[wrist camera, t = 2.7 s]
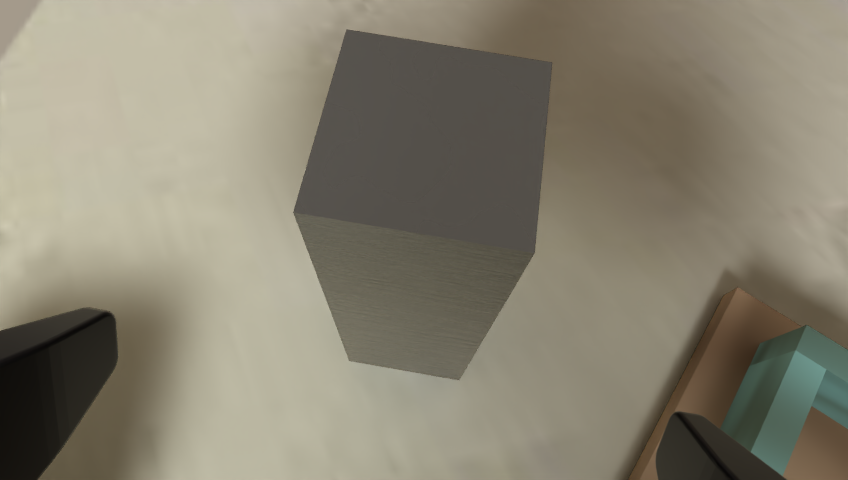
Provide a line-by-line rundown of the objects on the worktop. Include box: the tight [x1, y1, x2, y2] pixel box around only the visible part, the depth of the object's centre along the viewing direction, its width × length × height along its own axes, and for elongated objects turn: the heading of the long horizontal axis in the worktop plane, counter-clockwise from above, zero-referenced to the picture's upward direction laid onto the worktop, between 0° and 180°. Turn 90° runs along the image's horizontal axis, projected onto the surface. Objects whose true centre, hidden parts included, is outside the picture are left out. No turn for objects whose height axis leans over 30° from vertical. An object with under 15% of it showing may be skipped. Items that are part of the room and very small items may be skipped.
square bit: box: [293, 30, 552, 380], centre depth 15 cm, size 4×4×12 cm
